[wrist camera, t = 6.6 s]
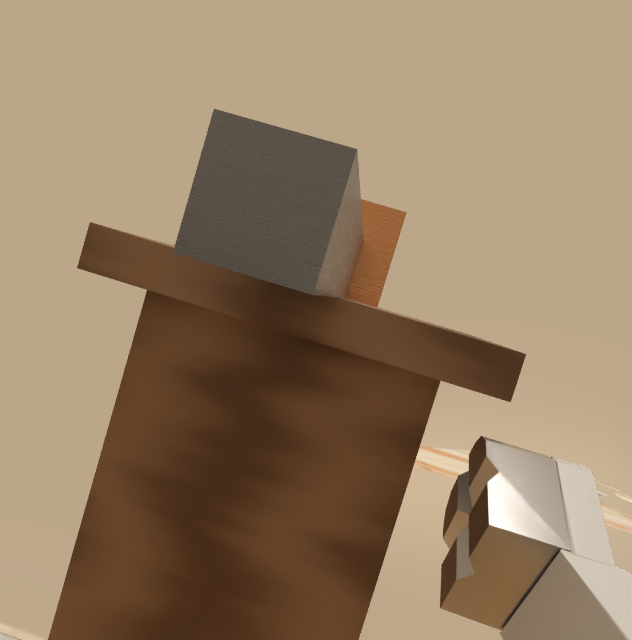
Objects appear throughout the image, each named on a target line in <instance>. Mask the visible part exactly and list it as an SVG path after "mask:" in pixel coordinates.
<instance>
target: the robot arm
mask: <svg viewBox="0 0 632 640" xmlns="http://www.w3.org/2000/svg"><path fill="white" fill-rule="evenodd" d="M443 539H444V541H445V542H446V544H447V546H448V547H449V549H450V550H449V552H448V554H447V556H446V558H445V560H444V562H443V564H442V569H441V597H440V608H441V609H444V610H447V611H449V612H452V613H455V614H458V615H460V616H463V617H466V618H469V619H472V620H474V621H477V622H480V623H482V624H485V625H488V626H491V627H493V628H496V629H499V630H502V631H501V633H500V634H501V636H502V638H503V640H632V575H631V574H630V573H629V572H628V571H627V570H623V569H621V568H618V567H616V564H615V560H614V556H613V552H612V548H611V545H610V540H609V537H608V533H607V529H606V525H605V521H604V517H603V513H602V509H601V505H600V501H599V497H598V493H597V489H596V485H595V481H594V477H593V473H592V472H591V470H590V469H589V468H588V467H587V466H583V465H580V464H577V463H573V462H569V461H566V460H562V459H559V458H555V457H548V456H546V455H542V454H539V453H536V452H532V451H529V450H526V449H522V448H519V447H516V446H512V445H509V444H506V443H503V442H499V441H496V440H492V439H489V438H486V437H483V436H481V437H480V438H479V439H478V440H477V441H476V443H475V445H474V446H473V448H472V450H471V452H470V454H469V471H468V472H466V473H463V474H461V475H459V476H458V478H457V480H456V482H455V484H454V487H453V489H452V491H451V494H450V497H449V501H448V504H447V507H446V512H445V519H444V528H443ZM0 640H21V639H19V638H16V637H13V636H10V635H7V634H4V633H2V632H0Z"/></svg>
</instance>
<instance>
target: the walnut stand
mask: <svg viewBox="0 0 632 640" xmlns="http://www.w3.org/2000/svg"><path fill="white" fill-rule="evenodd" d="M174 247H175V246H173V245H169V244H166V243H162V242H158V241H154V240H151V239H147V238H144V237H141V236H137V235H134V234H130V233H126V232H123V231H119V230H116V229H112V228H109V227H105V226H102V225H98V224H94V223H90V224H89V227H88V231H87V235H86V238H85V242H84V245H83V249H82V253H81V256H80V260H79V264H78V267H77V268H79V269H82V270H85V271H88V272H92V273H95V274H98V275H101V276H105V277H108V278H111V279H115V280H117V281H121V282H124V283H128V284H130V285H134V286H137V287H140V288H144V289H147V293H146V296H145V300H144V303H143V307H142V310H141V314H140V317H139V321H138V324H137V328H136V331H135V335H134V338H133V342H132V346H131V349H130V353H129V356H128V360H127V363H126V367H125V370H124V374H123V377H122V381H121V384H120V388H119V391H118V395H117V398H116V402H115V406H114V409H113V413H112V416H111V420H110V423H109V427H108V430H107V434H106V437H105V441H104V444H103V448H102V452H101V455H100V458H99V462H98V465H97V469H96V472H95V476H94V479H93V483H92V487H91V490H90V494H89V497H88V501H87V505H86V508H85V511H84V515H83V518H82V522H81V526H80V529H79V533H78V536H77V540H76V543H75V546H74V550H73V553H72V557H71V561H70V564H69V568H68V571H67V575H66V578H65V582H64V585H63V589H62V592H61V596H60V600H59V603H58V606H57V610H56V613H55V617H54V621H53V624H52V628H51V631H50V635H49V638H48V640H359V636H360V633H361V630H362V627H363V624H364V620H365V617H366V614H367V611H368V608H369V605H370V601H371V598H372V595H373V592H374V589H375V586H376V583H377V580H378V576H379V573H380V570H381V567H382V564H383V561H384V557H385V554H386V551H387V548H388V545H389V541H390V538H391V535H392V532H393V529H394V526H395V522H396V519H397V516H398V513H399V510H400V507H401V504H402V500H403V497H404V494H405V491H406V488H407V485H408V482H409V478H410V475H411V472H412V469H413V466H414V463H415V459H416V456H417V453H418V450H419V447H420V444H421V440H422V437H423V434H424V431H425V427H426V424H427V421H428V418H429V415H430V412H431V409H432V406H433V403H434V399H435V396H436V393H437V390H438V387H439V384H440V380H441V381H444V382H447V383H450V384H454V385H457V386H460V387H463V388H467V389H470V390H473V391H476V392H480V393H483V394H487V395H489V396H493V397H496V398H500V399H502V400H505V401H509V402H511V399H512V396H513V393H514V390H515V387H516V384H517V381H518V377H519V375H520V372H521V368H522V365H523V362H524V359H525V356H526V354H524V353H521V352H518V351H515V350H512V349H509V348H506V347H503V346H501V345H498V344H494V343H492V342H489V341H486V340H483V339H480V338H477V337H474V336H471V335H468V334H464V333H461V332H458V331H454V330H451V329H448V328H445V327H441V326H438V325H434V324H431V323H428V322H425V321H421V320H418V319H415V318H411V317H408V316H405V315H401V314H398V313H395V312H391V311H388V310H385V309H381V308H378V307H373V306H370V305H367V304H364V303H360V302H357V301H354V300H350V299H347V298H337V297H327V296H316V295H311V294H308V293H304V292H301V291H298V290H294V289H291V288H288V287H285V286H281V285H278V284H275V283H271V282H268V281H265V280H261V279H258V278H255V277H252V276H248V275H245V274H242V273H238V272H235V271H232V270H228V269H225V268H222V267H219V266H215V265H212V264H209V263H205V262H202V261H199V260H195V259H192V258H189V257H186V256H182V255H179V254H176V253H173V251H174Z"/></svg>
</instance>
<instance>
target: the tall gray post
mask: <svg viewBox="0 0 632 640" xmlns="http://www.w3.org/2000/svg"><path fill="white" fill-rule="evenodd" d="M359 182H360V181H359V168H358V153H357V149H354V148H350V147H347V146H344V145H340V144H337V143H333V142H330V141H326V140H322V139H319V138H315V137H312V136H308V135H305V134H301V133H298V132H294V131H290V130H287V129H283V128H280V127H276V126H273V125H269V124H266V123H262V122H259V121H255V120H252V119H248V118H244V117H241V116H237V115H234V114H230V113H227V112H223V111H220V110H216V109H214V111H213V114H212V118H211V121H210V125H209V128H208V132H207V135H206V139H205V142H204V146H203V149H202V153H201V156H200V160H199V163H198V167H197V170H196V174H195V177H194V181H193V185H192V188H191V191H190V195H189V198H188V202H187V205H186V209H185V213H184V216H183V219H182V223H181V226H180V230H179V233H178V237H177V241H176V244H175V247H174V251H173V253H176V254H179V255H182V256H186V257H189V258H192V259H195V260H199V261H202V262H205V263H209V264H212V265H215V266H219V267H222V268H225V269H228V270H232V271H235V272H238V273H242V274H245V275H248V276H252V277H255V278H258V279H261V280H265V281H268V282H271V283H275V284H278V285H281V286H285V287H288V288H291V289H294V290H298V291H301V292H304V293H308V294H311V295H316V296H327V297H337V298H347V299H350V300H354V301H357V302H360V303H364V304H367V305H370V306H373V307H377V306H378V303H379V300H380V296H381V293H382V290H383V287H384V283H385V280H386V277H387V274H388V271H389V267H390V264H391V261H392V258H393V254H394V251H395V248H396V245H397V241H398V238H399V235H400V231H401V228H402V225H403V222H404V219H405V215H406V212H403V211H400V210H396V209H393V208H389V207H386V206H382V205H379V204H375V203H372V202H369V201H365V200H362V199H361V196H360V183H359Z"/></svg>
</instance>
